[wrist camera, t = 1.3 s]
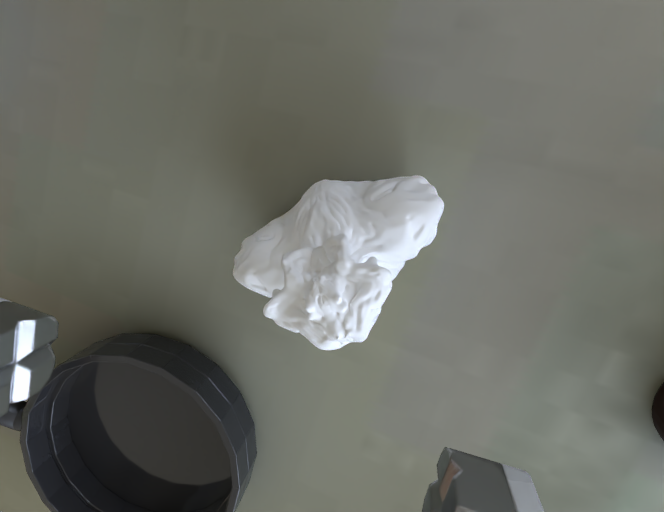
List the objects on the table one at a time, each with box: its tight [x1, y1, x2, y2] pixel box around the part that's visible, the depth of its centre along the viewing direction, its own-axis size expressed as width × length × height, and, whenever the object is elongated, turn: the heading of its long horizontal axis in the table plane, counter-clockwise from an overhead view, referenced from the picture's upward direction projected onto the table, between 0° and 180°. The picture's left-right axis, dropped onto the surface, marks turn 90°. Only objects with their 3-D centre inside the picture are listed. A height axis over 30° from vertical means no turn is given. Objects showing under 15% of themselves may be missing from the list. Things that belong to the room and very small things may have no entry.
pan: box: [20, 334, 257, 512], centre depth 32 cm, size 15×15×4 cm
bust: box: [233, 175, 444, 350], centre depth 24 cm, size 12×8×11 cm
